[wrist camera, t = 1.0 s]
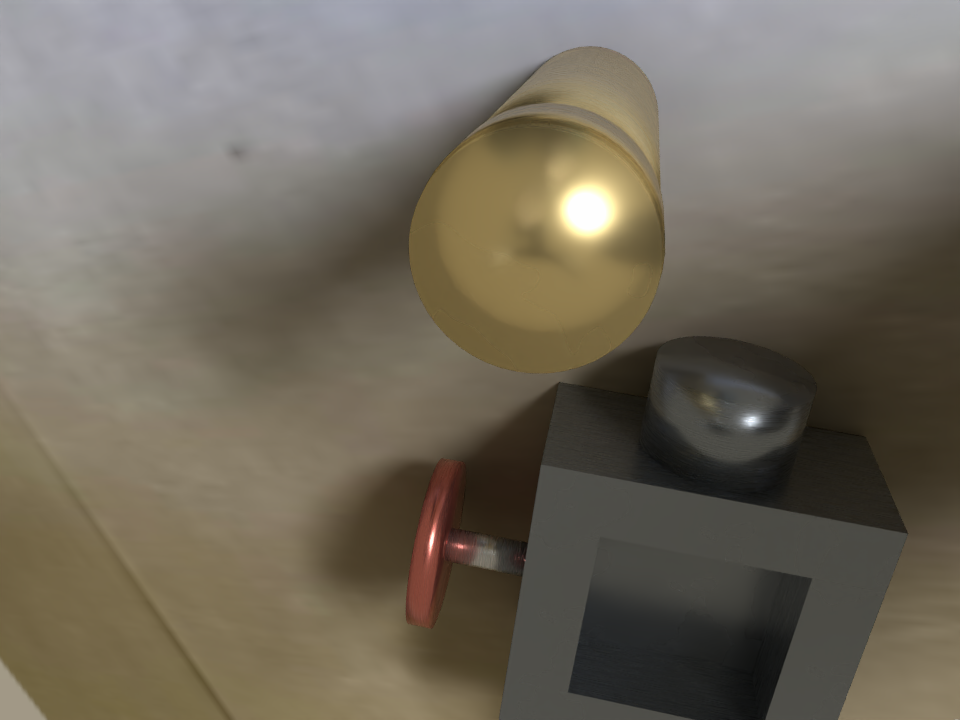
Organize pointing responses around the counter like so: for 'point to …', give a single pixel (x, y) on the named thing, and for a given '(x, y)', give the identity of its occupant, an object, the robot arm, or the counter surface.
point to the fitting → (547, 219)
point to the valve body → (683, 549)
